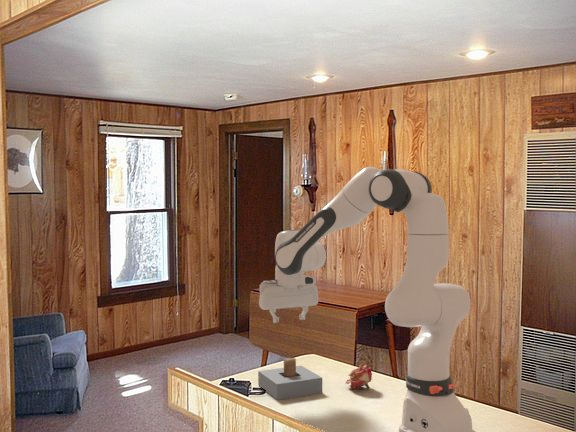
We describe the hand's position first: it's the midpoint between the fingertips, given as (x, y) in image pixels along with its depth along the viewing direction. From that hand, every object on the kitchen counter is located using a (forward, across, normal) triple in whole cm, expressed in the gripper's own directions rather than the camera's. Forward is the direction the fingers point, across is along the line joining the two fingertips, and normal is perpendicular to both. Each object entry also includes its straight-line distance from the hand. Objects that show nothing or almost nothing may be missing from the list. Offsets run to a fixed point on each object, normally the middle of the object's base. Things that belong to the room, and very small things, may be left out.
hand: (289, 321), depth 195 cm
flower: (+23, +21, -9) cm, 32 cm away
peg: (+23, 0, 0) cm, 23 cm away
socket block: (+23, 0, 0) cm, 23 cm away
